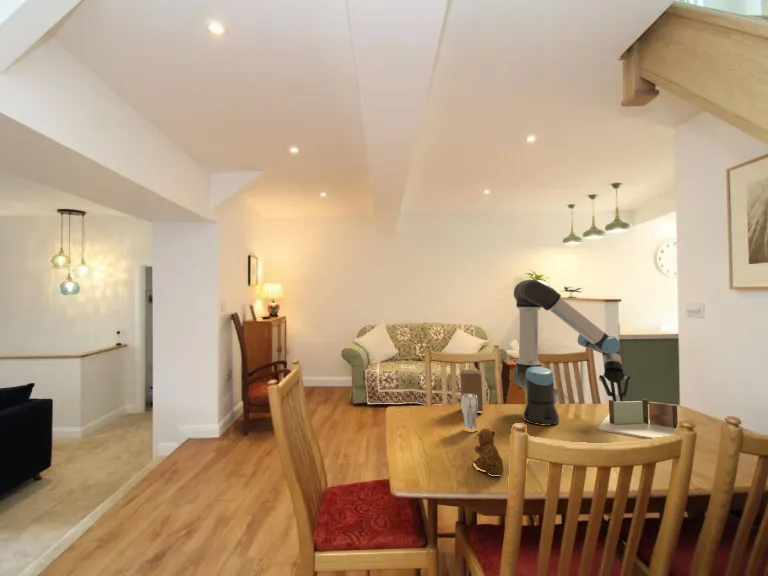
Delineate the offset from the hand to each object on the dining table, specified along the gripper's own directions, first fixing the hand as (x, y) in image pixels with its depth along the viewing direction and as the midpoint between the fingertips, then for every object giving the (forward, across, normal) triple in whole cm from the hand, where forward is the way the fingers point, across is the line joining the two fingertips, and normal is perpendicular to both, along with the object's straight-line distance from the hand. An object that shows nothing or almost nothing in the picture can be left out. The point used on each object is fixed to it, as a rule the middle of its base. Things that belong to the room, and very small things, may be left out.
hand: (619, 409), depth 171 cm
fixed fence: (+4, -15, -5) cm, 16 cm away
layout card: (+7, -7, -2) cm, 10 cm away
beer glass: (+25, +59, +17) cm, 66 cm away
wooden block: (+6, +64, -2) cm, 64 cm away
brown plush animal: (+51, +45, +43) cm, 80 cm away
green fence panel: (+4, -2, -3) cm, 6 cm away
